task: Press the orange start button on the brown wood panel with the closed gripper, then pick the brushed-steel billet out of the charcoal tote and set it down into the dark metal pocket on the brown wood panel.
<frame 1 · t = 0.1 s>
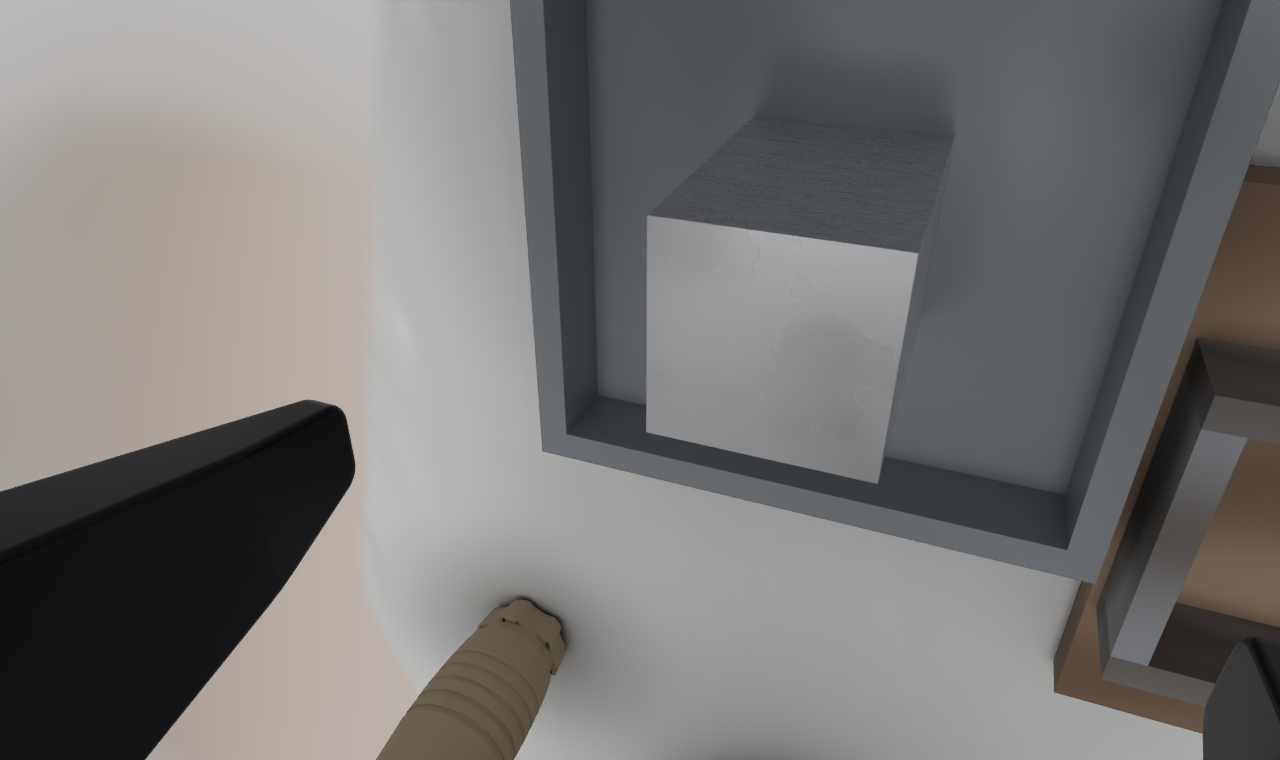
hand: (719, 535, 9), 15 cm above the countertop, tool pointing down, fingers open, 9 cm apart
billet: (839, 218, 21), point 1 cm above the countertop, touching tote
handle: (534, 622, 35), on the countertop
tote: (845, 207, 22), on the countertop
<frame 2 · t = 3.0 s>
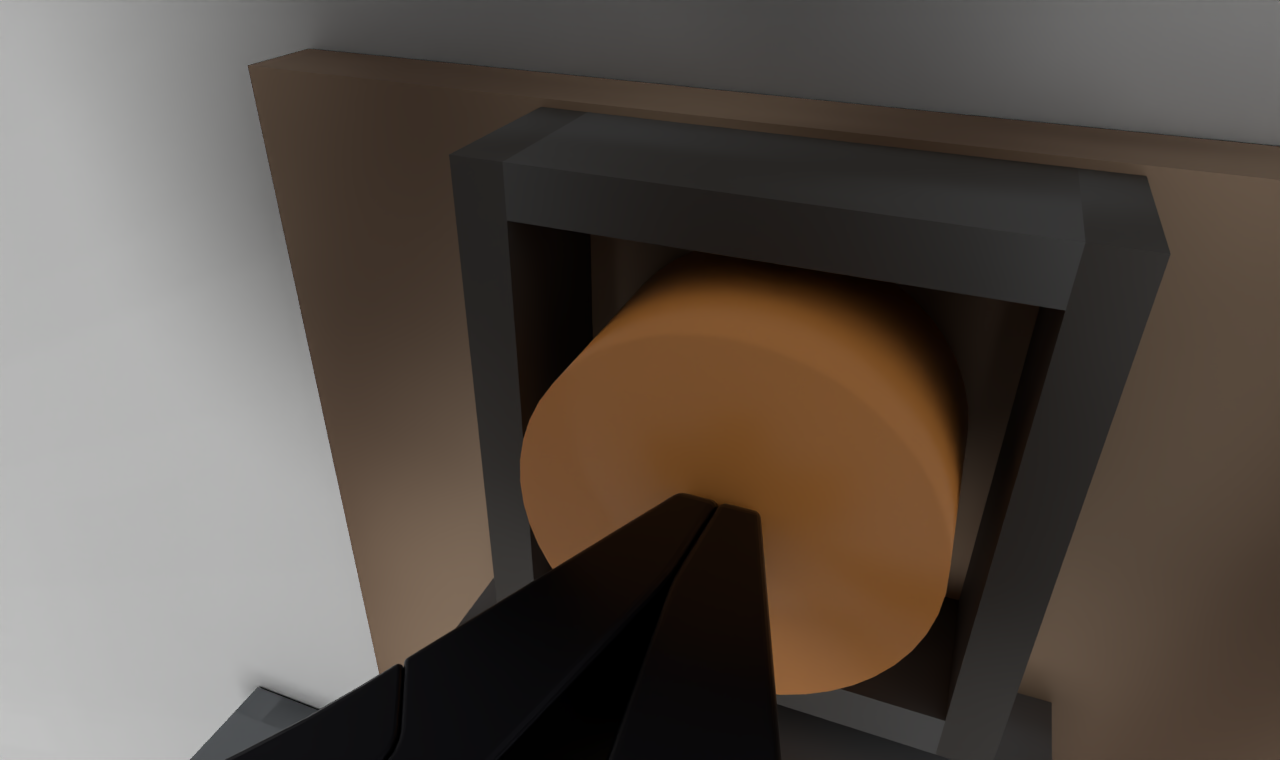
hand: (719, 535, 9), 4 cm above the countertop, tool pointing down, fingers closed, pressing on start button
start button: (748, 465, 10), point 3 cm above the countertop, slide at 0.9 cm, touching gripper
brown wood panel: (774, 590, 14), on the countertop
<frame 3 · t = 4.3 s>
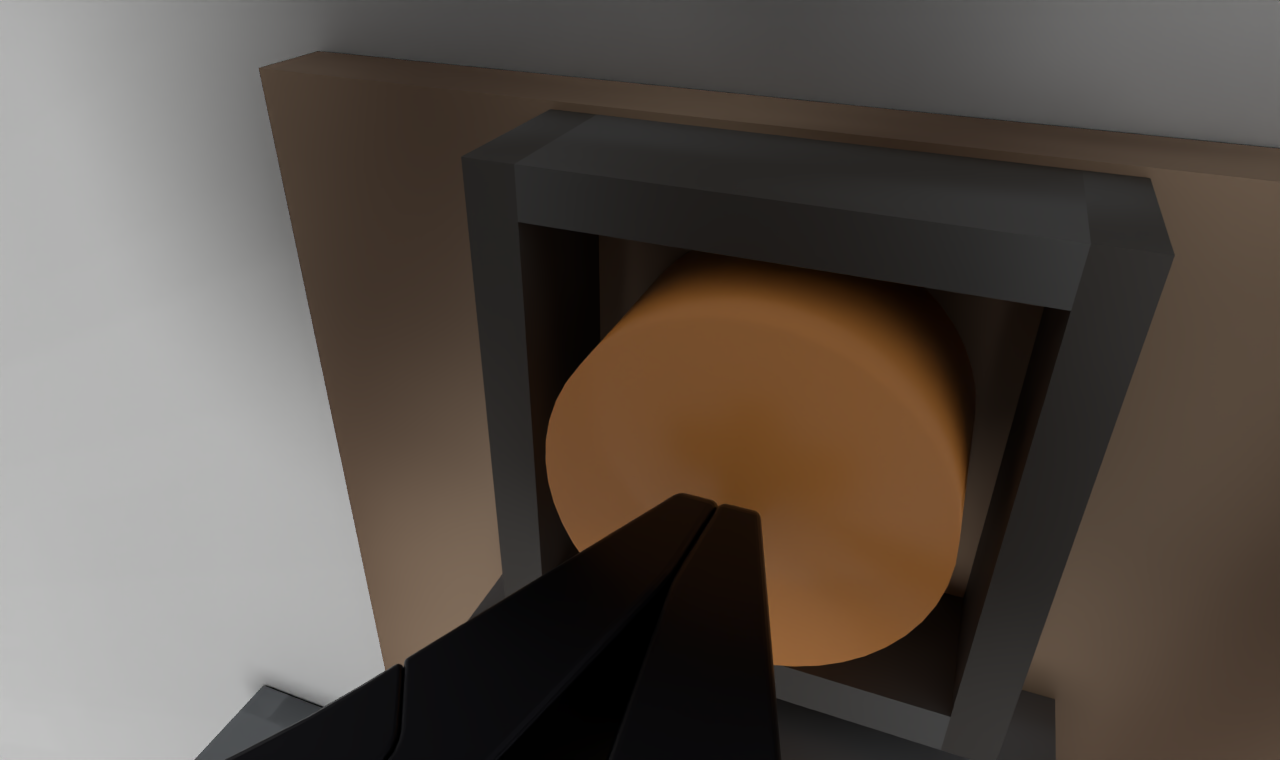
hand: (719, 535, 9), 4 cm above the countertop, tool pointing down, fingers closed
start button: (764, 446, 10), point 2 cm above the countertop, slide at 1.3 cm
brown wood panel: (779, 588, 14), on the countertop
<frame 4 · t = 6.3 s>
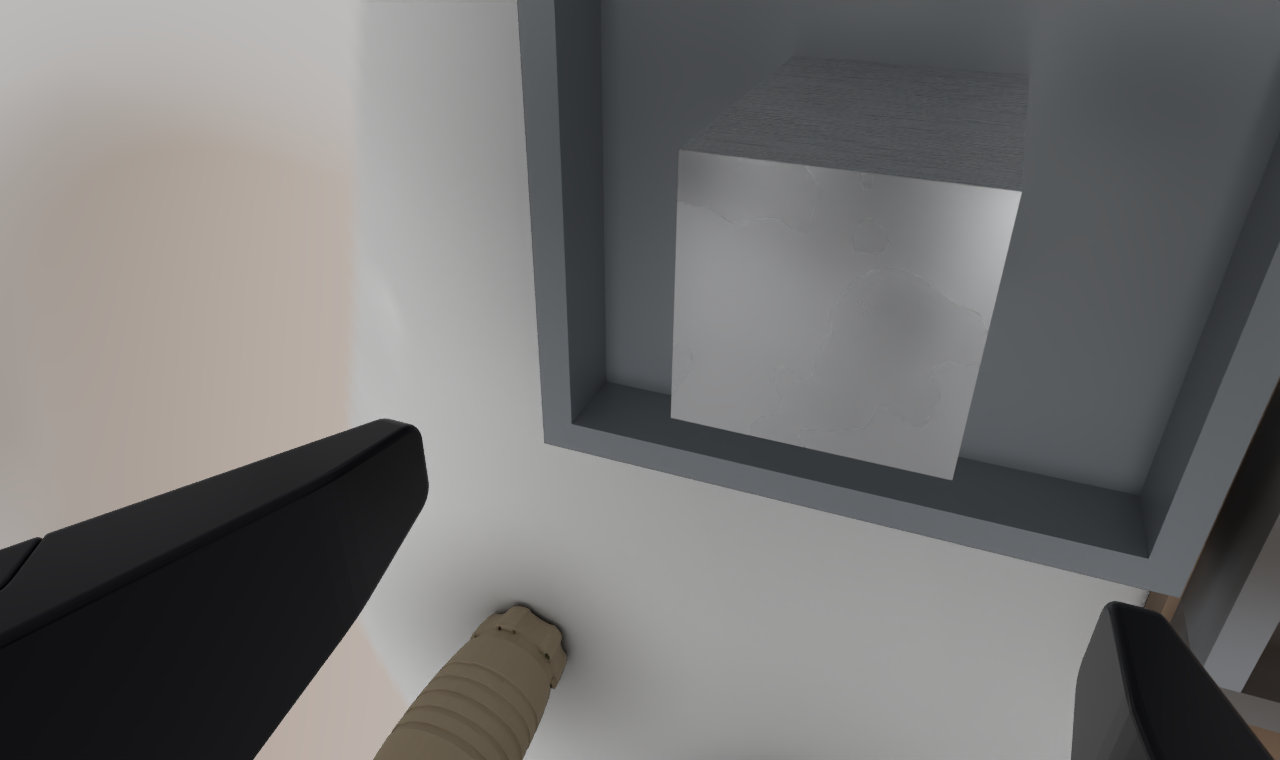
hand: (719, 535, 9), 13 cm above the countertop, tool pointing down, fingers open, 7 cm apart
billet: (888, 176, 18), point 1 cm above the countertop, touching tote
handle: (533, 631, 32), on the countertop
tote: (894, 165, 19), on the countertop
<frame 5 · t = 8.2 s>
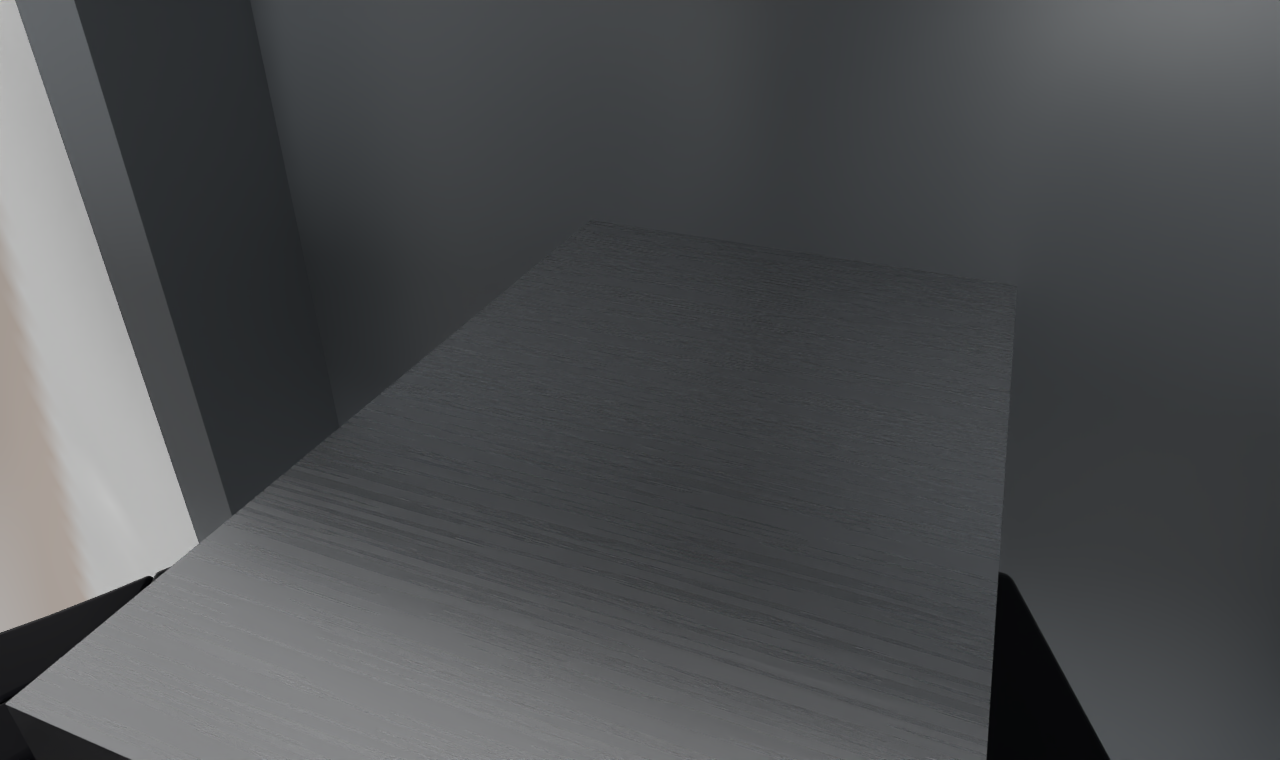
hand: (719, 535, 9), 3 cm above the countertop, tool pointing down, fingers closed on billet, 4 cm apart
billet: (769, 427, 10), point 1 cm above the countertop, touching gripper, tote
tote: (785, 393, 11), on the countertop
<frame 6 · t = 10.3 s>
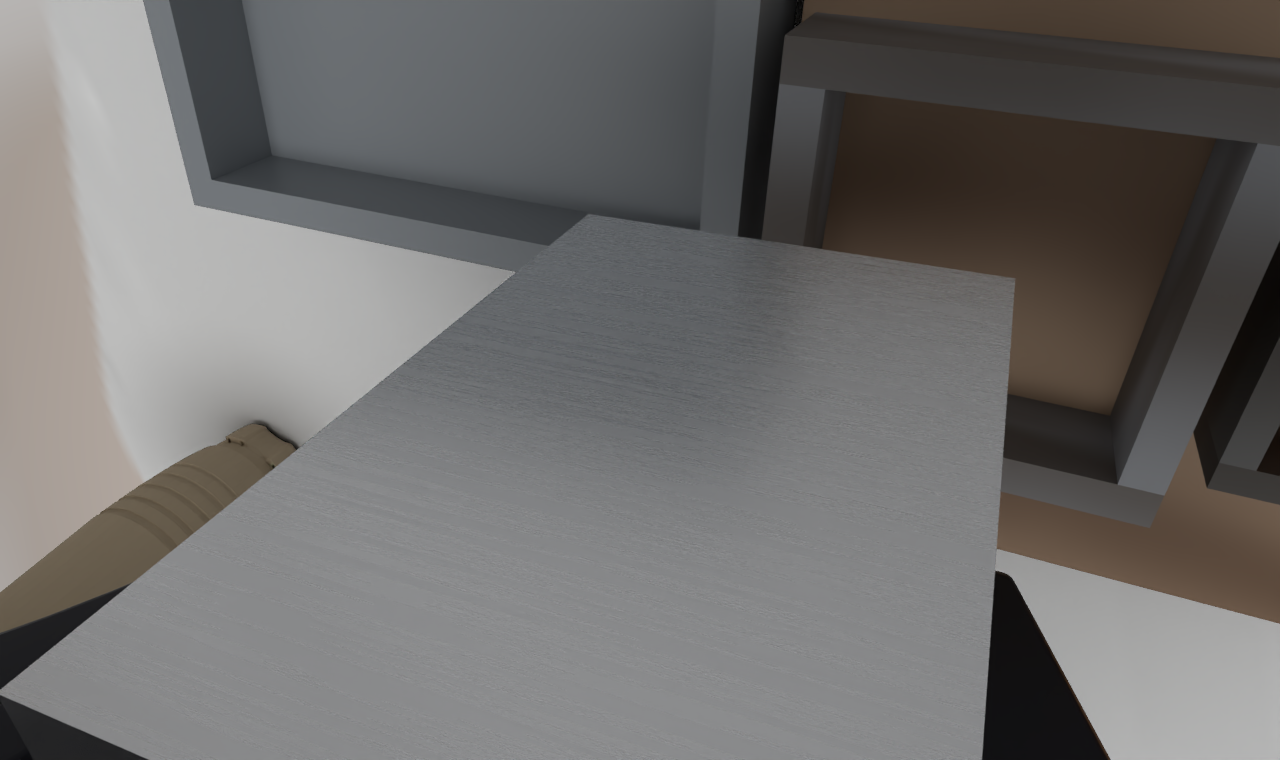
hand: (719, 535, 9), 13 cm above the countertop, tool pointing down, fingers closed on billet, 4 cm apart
billet: (767, 422, 10), point 11 cm above the countertop, touching gripper
handle: (277, 454, 32), on the countertop
brown wood panel: (1171, 254, 18), on the countertop
when the fingers open (5 cm above the countertop, at t = 12.3 s): billet drops 1 cm, resting on brown wood panel.
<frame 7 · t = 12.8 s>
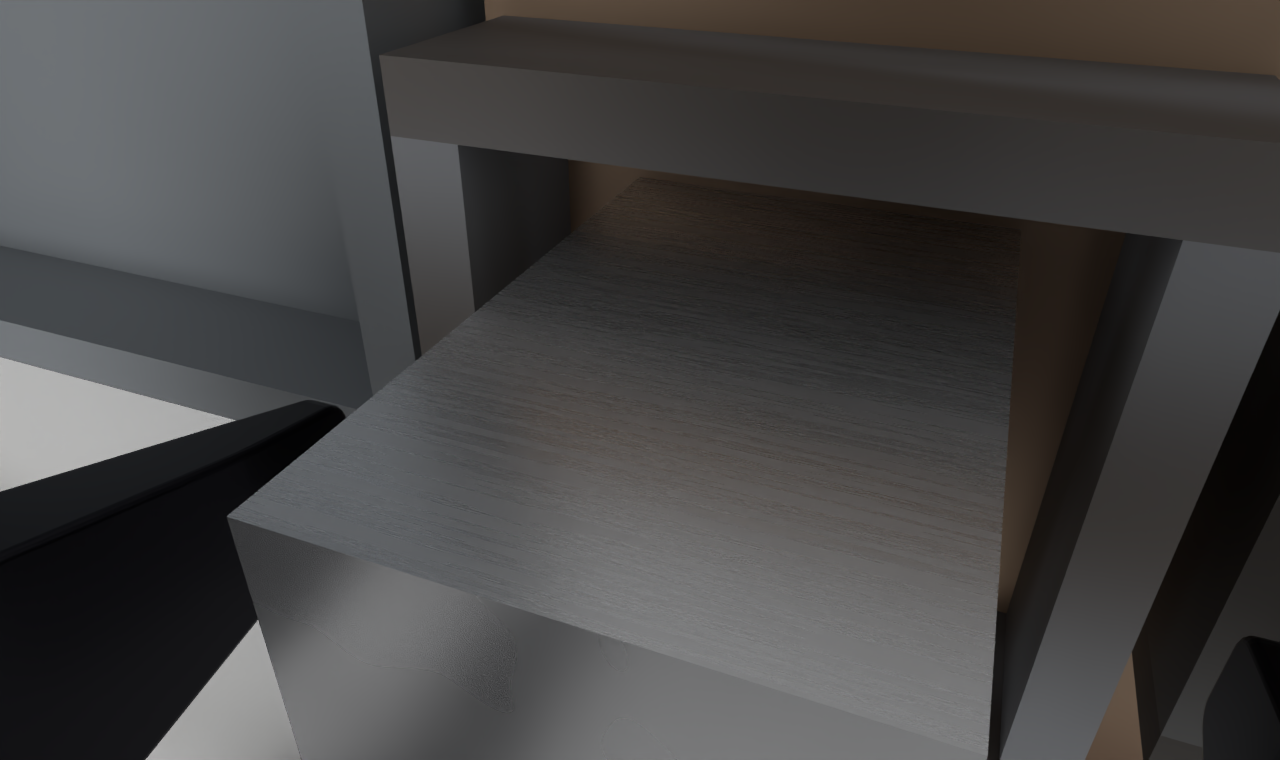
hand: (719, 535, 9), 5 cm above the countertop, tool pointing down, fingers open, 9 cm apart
billet: (797, 366, 12), point 1 cm above the countertop, touching brown wood panel
brown wood panel: (1086, 375, 11), on the countertop
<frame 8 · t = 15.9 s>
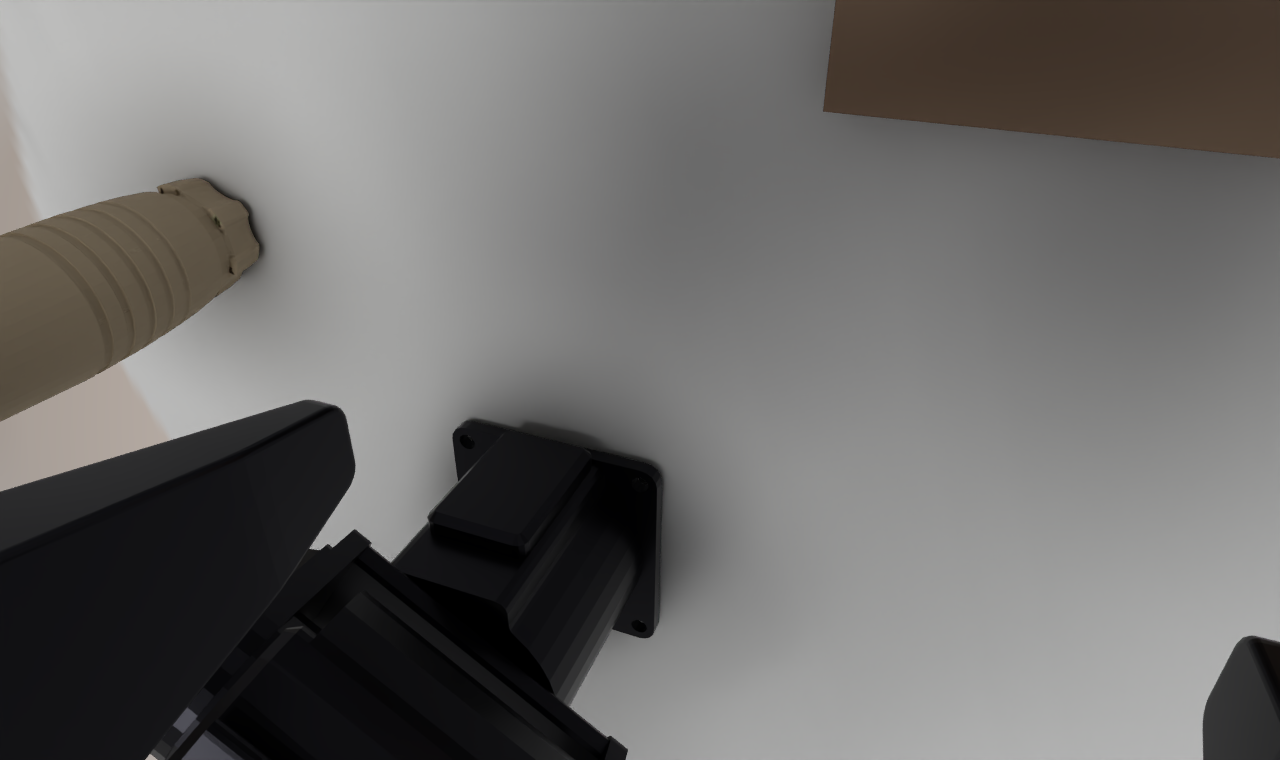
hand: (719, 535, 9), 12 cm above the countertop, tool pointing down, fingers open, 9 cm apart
handle: (225, 225, 26), on the countertop
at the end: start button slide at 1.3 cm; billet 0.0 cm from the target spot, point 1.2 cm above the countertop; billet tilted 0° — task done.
